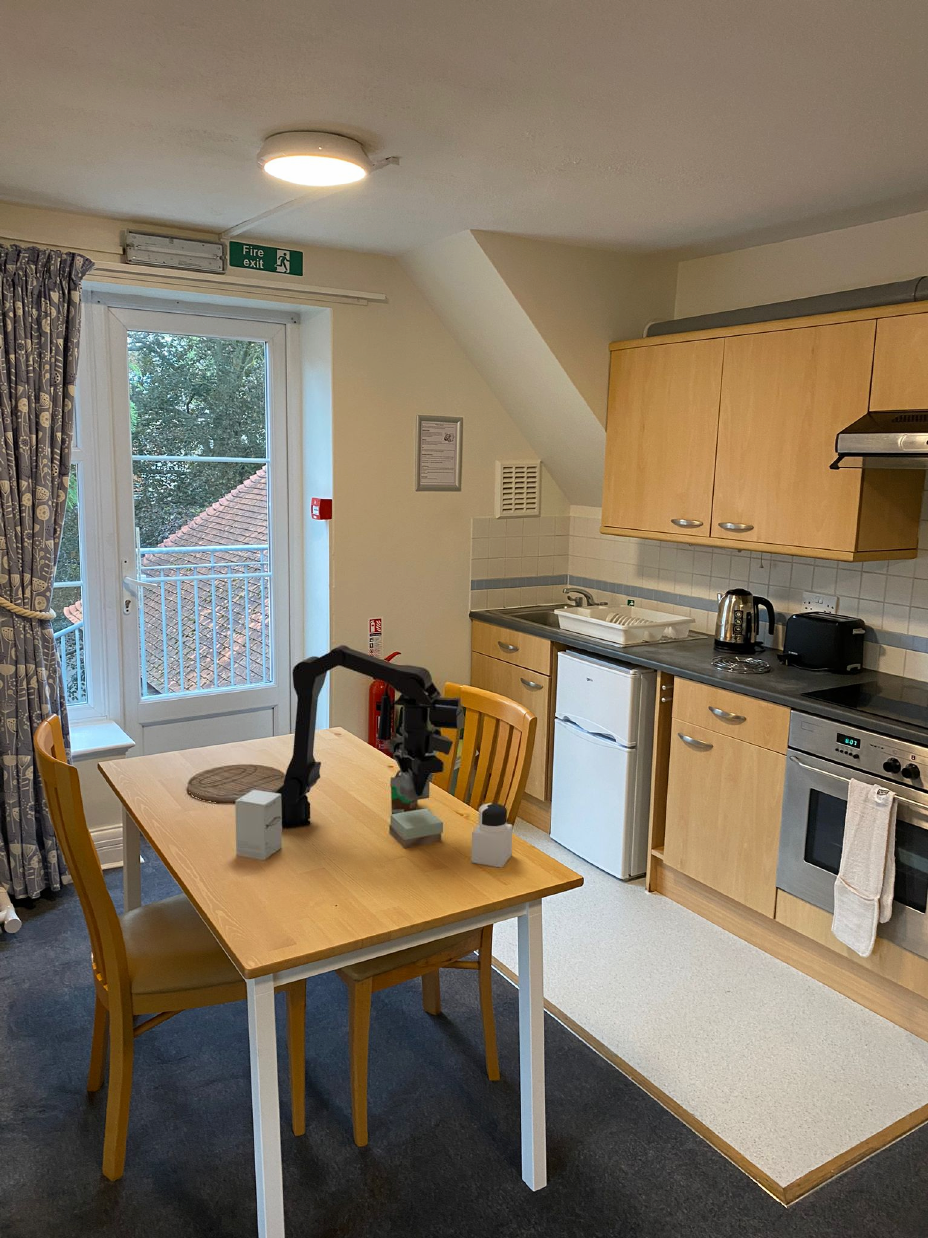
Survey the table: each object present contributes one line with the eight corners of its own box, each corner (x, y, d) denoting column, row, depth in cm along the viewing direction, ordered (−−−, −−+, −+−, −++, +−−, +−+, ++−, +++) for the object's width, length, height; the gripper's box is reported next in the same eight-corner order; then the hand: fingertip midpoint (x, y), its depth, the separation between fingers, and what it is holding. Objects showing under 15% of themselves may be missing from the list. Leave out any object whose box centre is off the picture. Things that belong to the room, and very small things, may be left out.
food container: (414, 820, 222) (415, 780, 220) (389, 818, 223) (390, 778, 221) (427, 801, 234) (427, 763, 232) (403, 799, 235) (403, 761, 233)
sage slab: (406, 839, 206) (406, 829, 206) (390, 825, 214) (390, 814, 214) (442, 832, 210) (443, 822, 210) (426, 818, 218) (426, 808, 218)
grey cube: (408, 801, 207) (408, 779, 206) (400, 793, 212) (400, 772, 211) (429, 798, 209) (429, 776, 208) (420, 790, 214) (421, 769, 213)
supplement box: (265, 861, 199) (263, 805, 196) (235, 855, 201) (233, 800, 199) (283, 848, 205) (282, 793, 203) (254, 842, 208) (253, 788, 206)
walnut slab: (403, 850, 207) (403, 839, 206) (389, 835, 215) (389, 824, 214) (441, 843, 210) (441, 833, 210) (425, 829, 218) (425, 818, 218)
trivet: (306, 783, 246) (306, 776, 246) (236, 812, 225) (236, 805, 225) (238, 765, 259) (238, 758, 259) (166, 791, 239) (166, 784, 238)
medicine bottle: (512, 855, 204) (513, 803, 202) (502, 868, 197) (504, 814, 195) (481, 850, 206) (482, 798, 204) (470, 863, 200) (471, 810, 197)
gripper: (466, 732, 203) (464, 800, 205) (432, 710, 219) (431, 773, 222) (418, 738, 198) (417, 808, 201) (387, 715, 215) (387, 779, 217)
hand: (414, 791), depth 210 cm, fingers closed on grey cube, 5 cm apart
